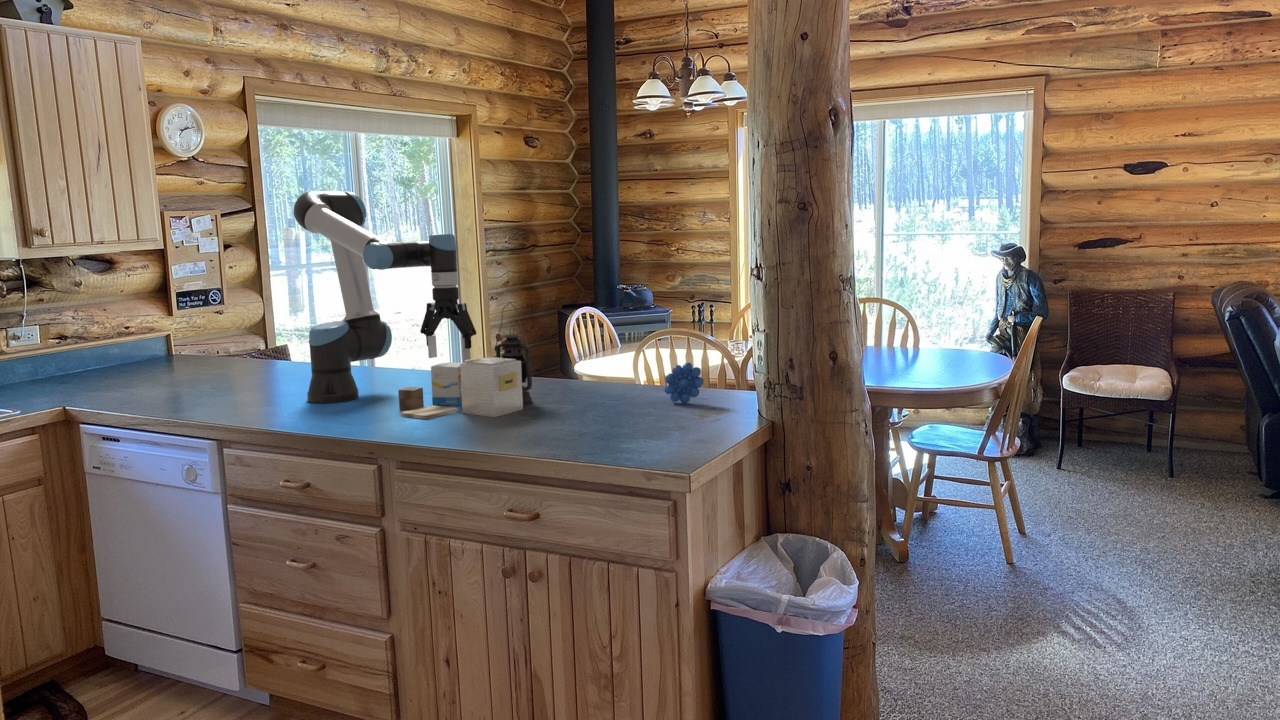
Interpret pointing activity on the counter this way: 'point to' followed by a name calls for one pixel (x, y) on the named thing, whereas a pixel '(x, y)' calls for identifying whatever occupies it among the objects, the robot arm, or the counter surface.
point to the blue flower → (683, 382)
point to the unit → (491, 386)
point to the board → (428, 412)
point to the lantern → (517, 357)
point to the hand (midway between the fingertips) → (449, 358)
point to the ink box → (446, 384)
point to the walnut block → (410, 398)
